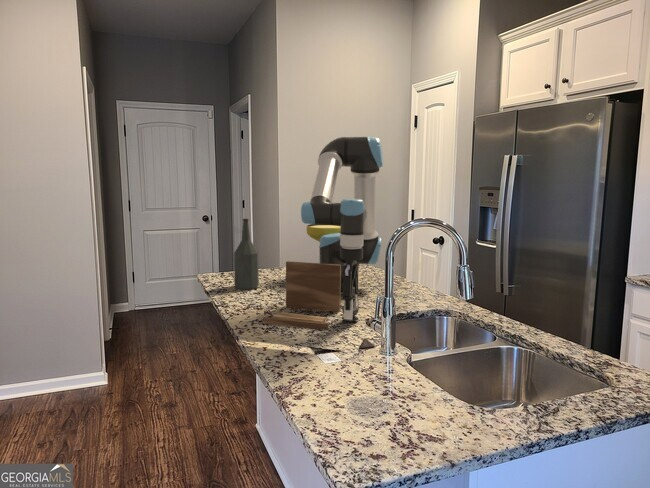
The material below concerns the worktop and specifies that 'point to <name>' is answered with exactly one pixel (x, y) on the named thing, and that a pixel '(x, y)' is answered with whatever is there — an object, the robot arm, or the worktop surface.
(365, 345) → the chocolate bar
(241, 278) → the bottle
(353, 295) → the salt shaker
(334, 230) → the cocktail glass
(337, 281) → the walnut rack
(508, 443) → the worktop surface
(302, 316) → the upper offcut
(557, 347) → the worktop surface
